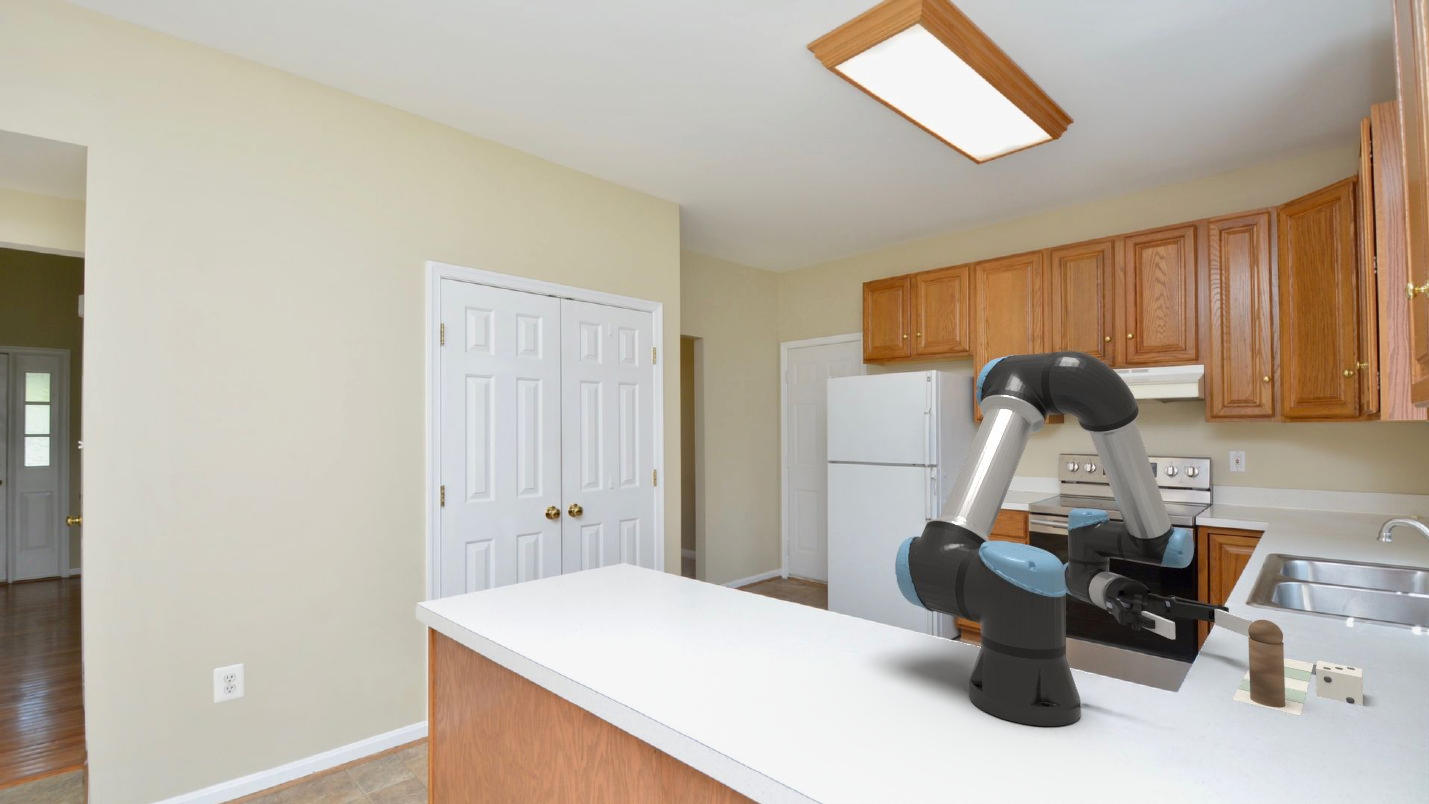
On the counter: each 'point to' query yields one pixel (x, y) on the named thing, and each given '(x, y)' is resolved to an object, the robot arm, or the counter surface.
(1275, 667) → the pawn
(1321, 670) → the die
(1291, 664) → the board
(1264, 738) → the counter surface
